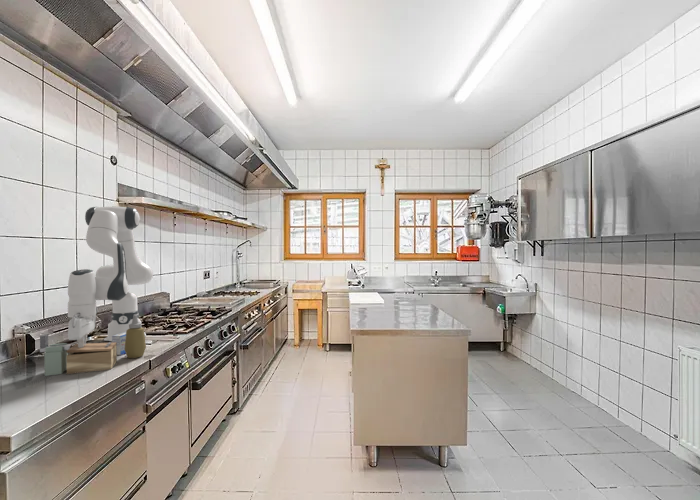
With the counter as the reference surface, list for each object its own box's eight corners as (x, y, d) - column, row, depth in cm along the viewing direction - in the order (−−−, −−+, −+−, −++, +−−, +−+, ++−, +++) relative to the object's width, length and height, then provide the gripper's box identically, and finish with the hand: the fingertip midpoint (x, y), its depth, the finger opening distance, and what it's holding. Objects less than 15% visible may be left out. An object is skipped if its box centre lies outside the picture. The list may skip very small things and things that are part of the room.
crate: (75, 366, 140) (75, 348, 140) (116, 361, 145) (116, 344, 145) (66, 374, 130) (66, 355, 130) (111, 369, 136) (111, 351, 136)
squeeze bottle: (123, 360, 147) (123, 317, 147) (125, 355, 154) (125, 314, 154) (145, 357, 150) (145, 316, 150) (146, 352, 158) (146, 313, 158)
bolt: (43, 350, 133) (42, 334, 133) (72, 347, 136) (72, 332, 136) (40, 352, 130) (39, 336, 130) (69, 349, 134) (69, 333, 134)
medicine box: (120, 355, 154) (120, 335, 154) (111, 355, 155) (111, 335, 155) (134, 350, 162) (134, 331, 161) (126, 350, 162) (126, 331, 162)
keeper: (52, 369, 136) (51, 343, 136) (67, 368, 138) (67, 342, 137) (44, 375, 129) (44, 348, 129) (61, 373, 131) (61, 346, 131)
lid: (75, 346, 140) (75, 342, 140) (116, 344, 145) (116, 341, 145) (66, 352, 130) (66, 349, 131) (110, 350, 136) (111, 347, 136)
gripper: (83, 314, 128) (83, 352, 128) (98, 307, 147) (98, 340, 147) (62, 316, 125) (62, 354, 125) (80, 308, 144) (80, 341, 144)
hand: (82, 346), depth 136 cm, fingers closed, pressing on lid
